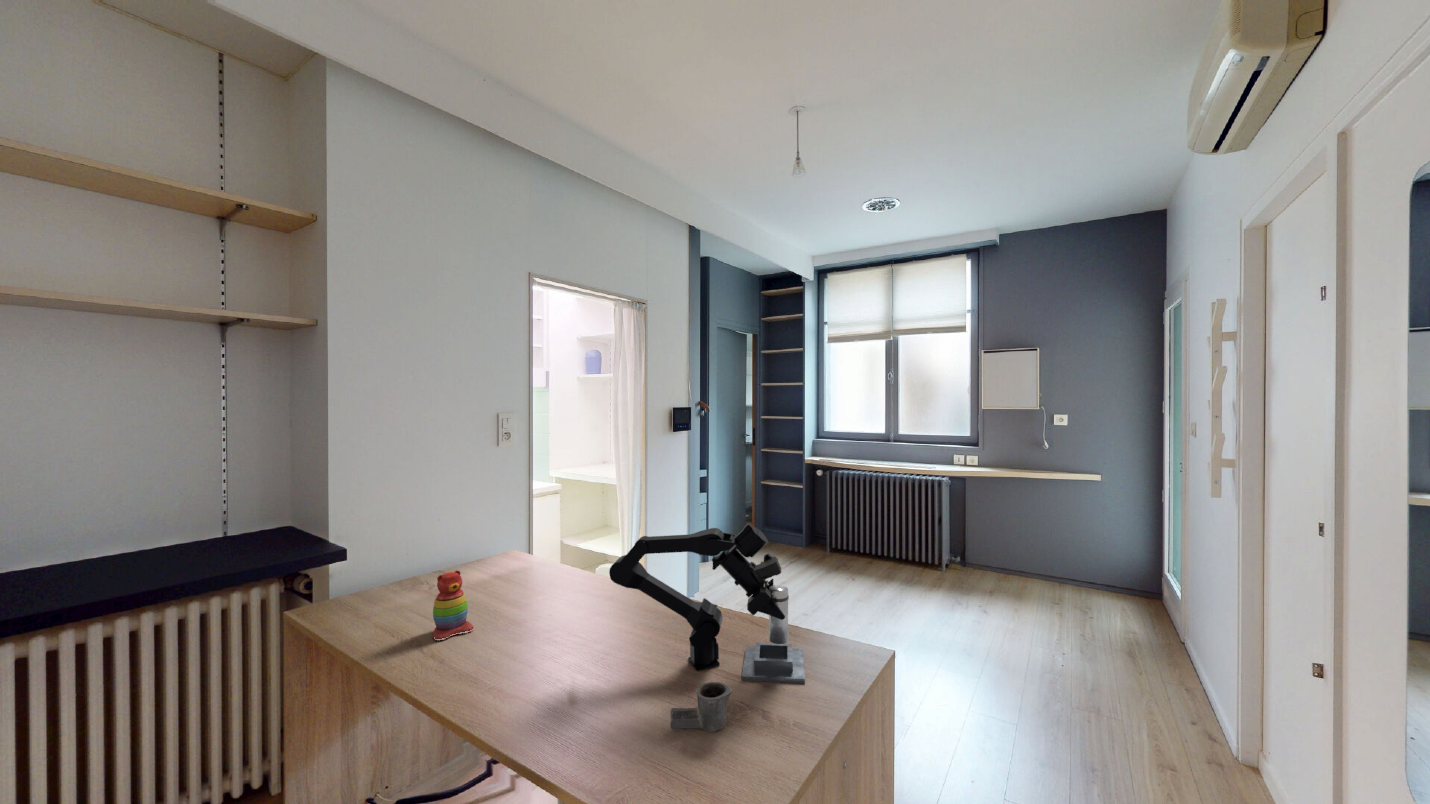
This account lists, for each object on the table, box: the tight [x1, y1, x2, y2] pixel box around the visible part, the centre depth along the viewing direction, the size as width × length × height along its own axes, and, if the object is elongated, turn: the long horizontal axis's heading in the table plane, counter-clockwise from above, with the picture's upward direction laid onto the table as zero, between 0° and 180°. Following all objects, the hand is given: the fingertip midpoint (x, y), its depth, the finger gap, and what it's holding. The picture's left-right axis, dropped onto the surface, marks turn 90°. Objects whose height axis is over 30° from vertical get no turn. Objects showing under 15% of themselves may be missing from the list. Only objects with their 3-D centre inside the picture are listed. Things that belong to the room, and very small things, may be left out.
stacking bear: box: [432, 570, 474, 639], centre depth 157 cm, size 11×10×18 cm
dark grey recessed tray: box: [741, 642, 806, 684], centre depth 132 cm, size 15×15×4 cm
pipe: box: [670, 681, 732, 733], centre depth 108 cm, size 6×13×8 cm, turn 95°
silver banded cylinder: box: [768, 584, 790, 644], centre depth 132 cm, size 5×5×13 cm
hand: (783, 614), depth 132 cm, fingers closed on silver banded cylinder, 5 cm apart
